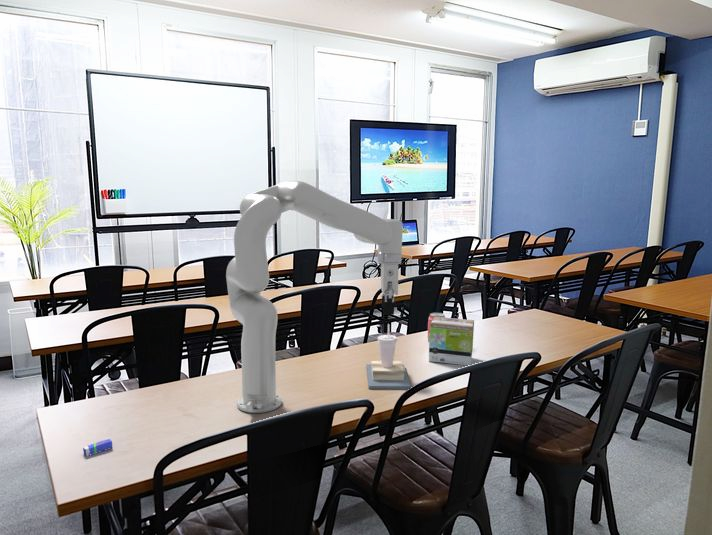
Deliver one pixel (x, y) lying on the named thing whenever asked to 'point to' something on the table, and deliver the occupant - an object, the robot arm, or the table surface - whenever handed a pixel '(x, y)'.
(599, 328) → the table surface
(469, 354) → the tea box
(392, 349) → the smoothie
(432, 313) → the soda can
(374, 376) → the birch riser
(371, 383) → the board
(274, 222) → the robot arm
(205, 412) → the table surface
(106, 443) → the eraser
